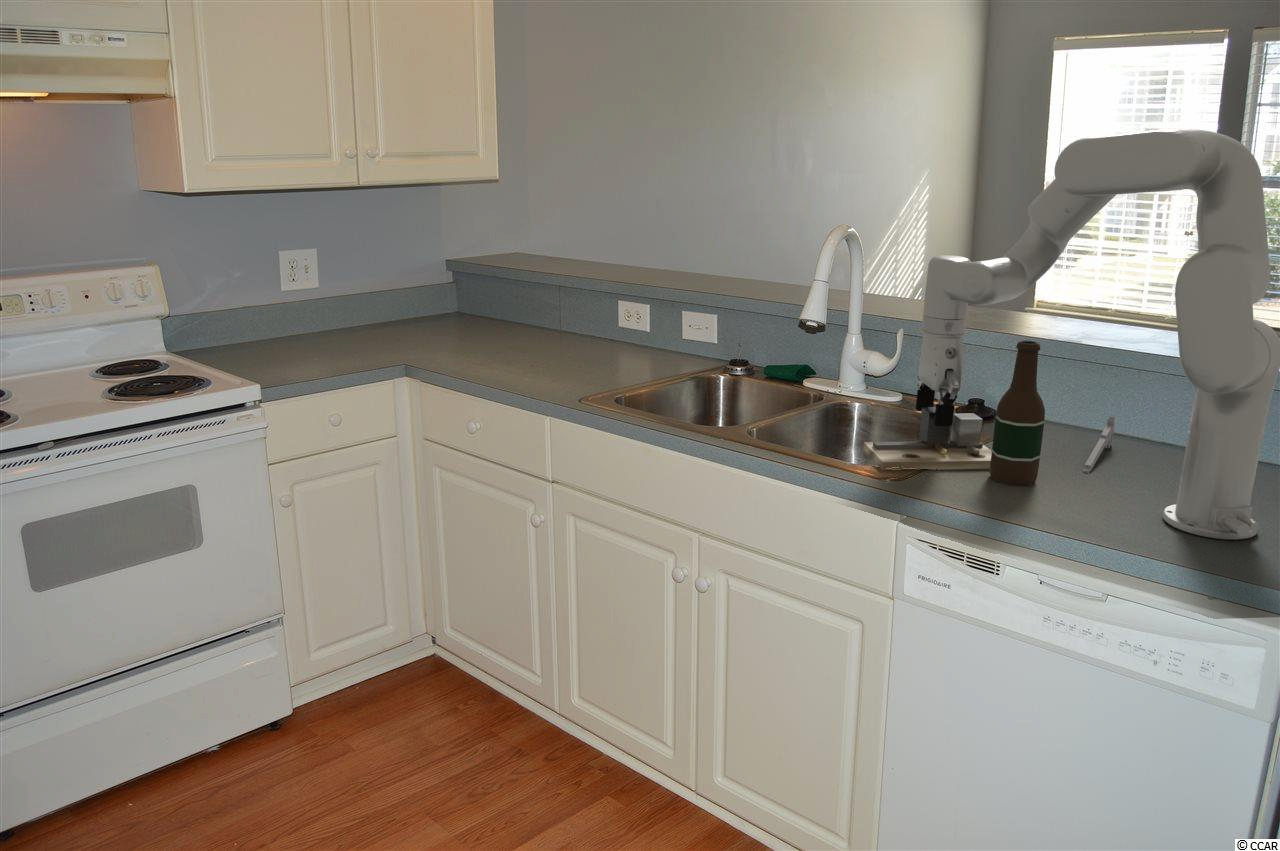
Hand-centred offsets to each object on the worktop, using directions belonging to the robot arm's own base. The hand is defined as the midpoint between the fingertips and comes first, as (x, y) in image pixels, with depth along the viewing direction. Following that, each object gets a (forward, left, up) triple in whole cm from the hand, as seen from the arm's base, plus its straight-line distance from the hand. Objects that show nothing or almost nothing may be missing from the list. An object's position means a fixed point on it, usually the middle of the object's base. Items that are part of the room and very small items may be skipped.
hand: (933, 417), depth 184 cm
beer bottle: (-15, -9, -7) cm, 19 cm away
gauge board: (-3, +1, -7) cm, 8 cm away
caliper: (-4, -30, -8) cm, 31 cm away
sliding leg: (-2, 0, -5) cm, 6 cm away
